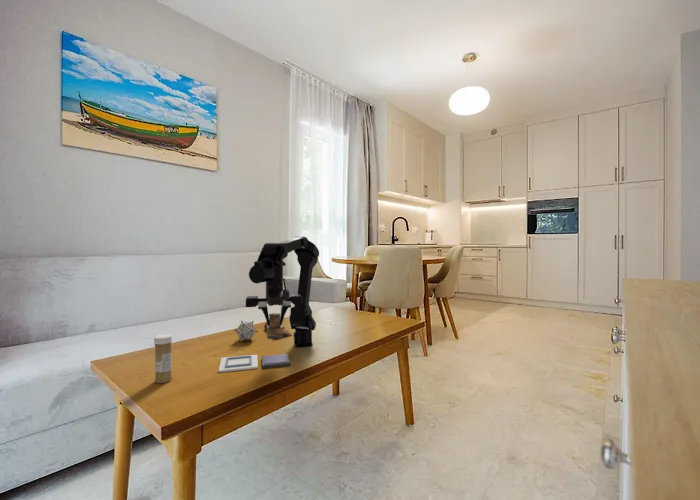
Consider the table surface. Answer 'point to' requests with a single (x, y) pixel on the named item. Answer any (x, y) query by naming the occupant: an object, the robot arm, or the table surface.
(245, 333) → the game die
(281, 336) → the stamp
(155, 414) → the table surface
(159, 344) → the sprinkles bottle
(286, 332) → the sunglasses case
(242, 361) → the print card
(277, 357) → the ink pad
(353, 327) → the table surface
